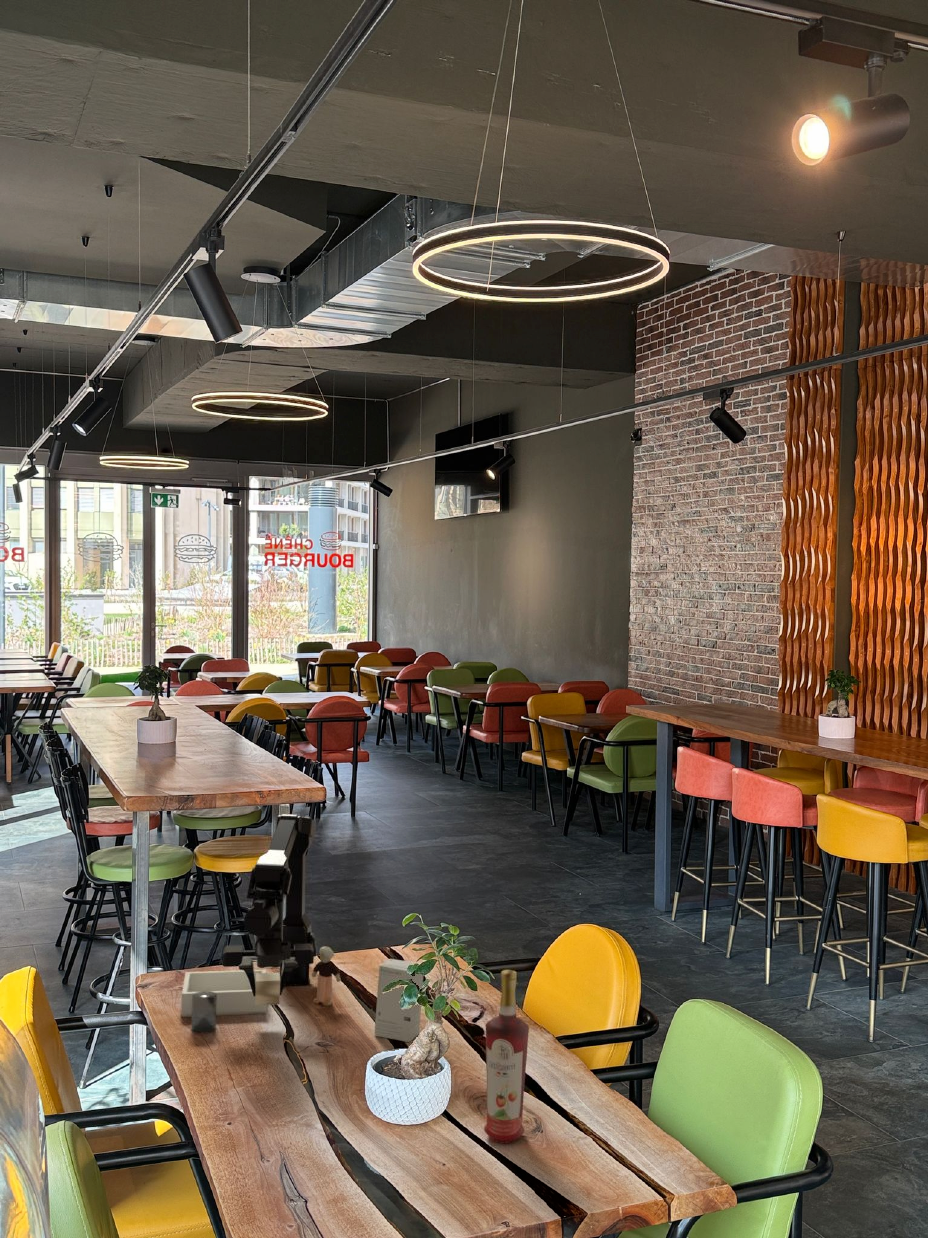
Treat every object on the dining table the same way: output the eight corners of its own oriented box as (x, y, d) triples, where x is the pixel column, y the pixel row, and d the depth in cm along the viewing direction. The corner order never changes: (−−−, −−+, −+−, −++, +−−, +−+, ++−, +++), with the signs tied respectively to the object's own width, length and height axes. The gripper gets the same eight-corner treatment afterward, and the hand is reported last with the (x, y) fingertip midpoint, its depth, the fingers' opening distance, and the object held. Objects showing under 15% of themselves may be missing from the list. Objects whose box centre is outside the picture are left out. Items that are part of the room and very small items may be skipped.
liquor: (529, 1131, 187) (534, 968, 187) (519, 1151, 180) (524, 982, 180) (488, 1124, 189) (493, 963, 189) (477, 1143, 182) (482, 976, 182)
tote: (265, 991, 251) (266, 969, 251) (266, 1013, 237) (266, 990, 237) (185, 994, 248) (185, 972, 248) (181, 1017, 234) (181, 994, 234)
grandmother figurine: (305, 1003, 244) (307, 947, 244) (312, 998, 248) (314, 942, 247) (337, 1008, 242) (338, 951, 242) (344, 1002, 245) (345, 946, 245)
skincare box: (374, 1037, 226) (376, 965, 226) (385, 1026, 232) (387, 957, 232) (411, 1043, 223) (413, 971, 223) (422, 1033, 229) (424, 962, 229)
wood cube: (279, 996, 233) (279, 972, 233) (279, 1004, 228) (280, 980, 228) (255, 997, 232) (255, 973, 232) (255, 1005, 227) (255, 981, 227)
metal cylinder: (216, 1023, 231) (217, 990, 231) (215, 1033, 226) (216, 999, 226) (191, 1024, 230) (192, 991, 230) (190, 1034, 225) (191, 1000, 225)
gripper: (223, 934, 220) (221, 1011, 220) (316, 932, 224) (313, 1007, 224) (224, 918, 231) (222, 992, 231) (313, 916, 235) (311, 988, 235)
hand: (267, 995), depth 230 cm, fingers closed on wood cube, 5 cm apart
